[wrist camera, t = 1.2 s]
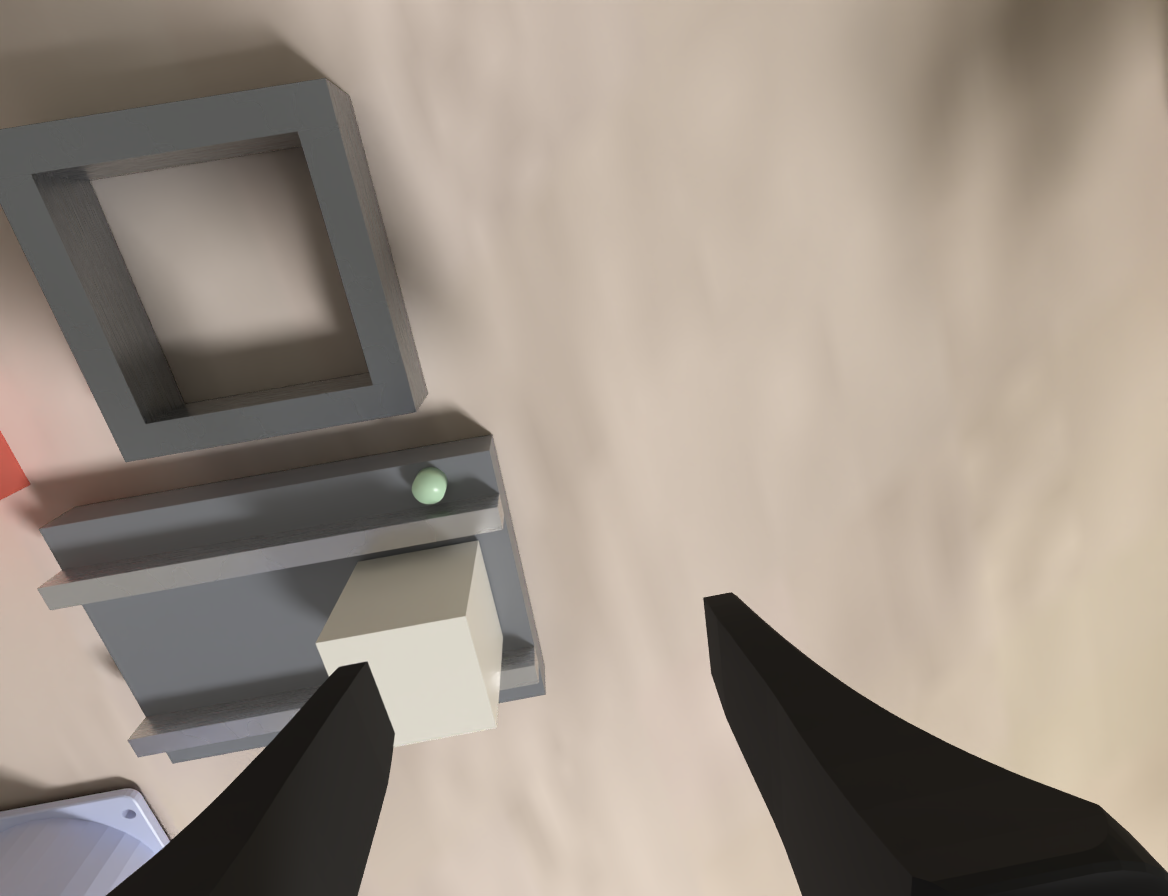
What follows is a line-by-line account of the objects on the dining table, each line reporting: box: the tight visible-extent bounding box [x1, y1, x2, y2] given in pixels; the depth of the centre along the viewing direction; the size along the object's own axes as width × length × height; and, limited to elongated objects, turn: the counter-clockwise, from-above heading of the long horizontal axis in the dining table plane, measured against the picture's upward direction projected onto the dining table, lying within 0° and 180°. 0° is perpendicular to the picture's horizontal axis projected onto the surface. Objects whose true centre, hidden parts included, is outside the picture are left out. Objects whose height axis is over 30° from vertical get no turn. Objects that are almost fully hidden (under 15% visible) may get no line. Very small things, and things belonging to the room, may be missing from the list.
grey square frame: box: [0, 78, 428, 462], centre depth 16 cm, size 8×8×2 cm
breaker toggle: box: [316, 540, 503, 747], centre depth 18 cm, size 4×4×4 cm
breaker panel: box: [37, 435, 546, 763], centre depth 20 cm, size 10×14×2 cm
